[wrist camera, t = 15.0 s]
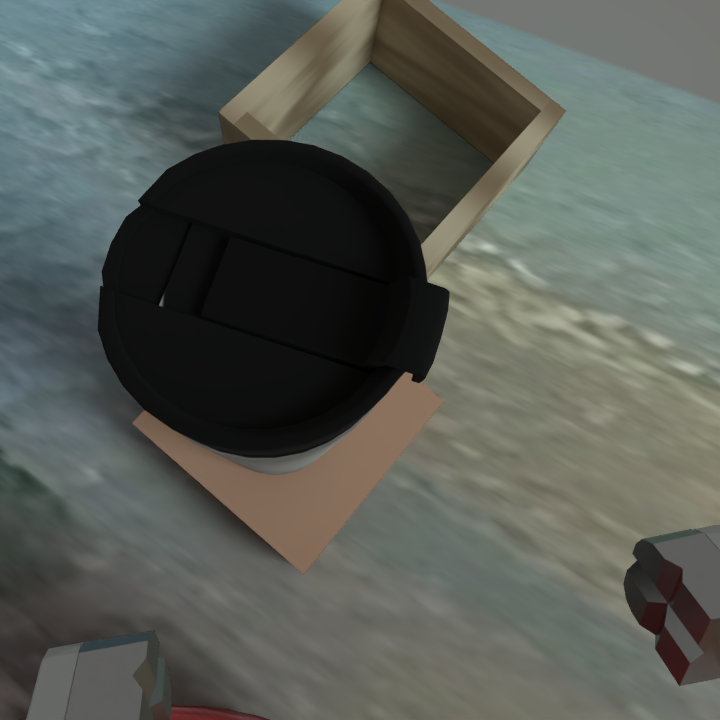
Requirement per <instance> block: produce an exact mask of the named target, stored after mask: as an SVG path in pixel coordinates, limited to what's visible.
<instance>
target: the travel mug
mask: <svg viewBox="0 0 720 720" xmlns="http://www.w3.org/2000/svg"><path fill="white" fill-rule="evenodd" d="M138 201H139V203H140V206H139V207H138V208H137V209H135V210H134V211H133V212H132V213H130V214H129V215H128V216H126V218H125V219H124V221H123V223H122V225H121V227H120V228H119V230H118V232H117V234H116V235H115V237H114V239H113V241H112V242H111V245H110V248H109V251H108V254H107V257H106V260H105V263H104V266H103V269H102V279H103V287H102V286H100V300H99V318H98V332H99V335H100V338H101V341H102V344H103V347H104V350H105V353H106V356H107V359H108V361H109V363H110V364H111V366H112V368H113V370H114V371H115V373H116V375H117V376H118V378H119V380H120V382H121V383H122V385H123V387H124V388H125V389H126V390H127V391H128V392H129V393H130V394H131V395H132V397H133V398H134V399H135V400H136V401H137V402H138V403H139V404H140V405H141V406H142V407H143V408H144V410H145V411H147V412H148V413H150V414H151V415H152V416H154V417H155V418H157V419H158V420H159V421H161V422H162V423H164V424H165V425H167V426H168V427H169V428H171V429H172V430H174V431H176V432H178V433H179V434H181V435H182V436H184V437H185V438H187V439H188V440H189V441H191V442H192V443H194V444H196V445H198V446H200V447H203V448H205V449H207V450H209V451H211V452H213V453H215V454H218V455H220V456H222V457H224V458H226V459H228V460H230V461H232V462H235V463H237V464H239V465H241V466H243V467H245V468H248V469H250V470H252V471H255V472H258V473H263V474H268V475H282V474H287V473H292V472H295V471H298V470H300V469H303V468H305V467H307V466H308V465H310V464H311V463H313V462H315V461H316V460H317V459H318V458H320V457H321V456H322V455H323V454H324V453H325V452H327V451H328V450H329V449H330V448H331V447H333V446H334V445H335V444H336V443H337V442H338V441H340V440H341V439H342V438H343V437H344V436H346V435H347V434H348V433H349V432H350V431H351V430H353V429H354V428H355V427H356V426H357V425H358V424H359V423H360V422H361V421H362V420H363V419H364V418H365V417H366V416H367V415H368V414H369V413H370V412H371V411H372V409H373V408H374V406H375V405H376V404H377V403H378V402H379V401H380V400H381V399H382V398H383V397H384V396H385V395H386V394H387V393H388V392H389V390H390V389H391V388H392V387H393V386H394V384H395V383H396V382H397V381H398V379H399V378H400V377H401V376H402V375H403V374H404V373H405V372H408V373H411V374H413V376H412V379H411V381H413V382H416V383H420V382H422V381H423V380H424V379H425V377H426V375H427V374H428V372H429V370H430V368H431V366H432V364H433V361H434V358H435V355H436V352H437V349H438V346H439V343H440V339H441V336H442V332H443V328H444V324H445V320H446V316H447V312H448V305H449V293H450V292H449V291H448V290H447V289H445V288H443V287H440V286H437V285H434V284H431V283H428V282H427V273H426V265H425V261H424V256H423V252H422V248H421V244H420V241H419V239H418V237H417V235H416V232H415V230H414V228H413V226H412V224H411V222H410V220H409V218H408V215H407V214H406V213H405V211H404V210H403V209H402V207H401V206H400V205H399V203H398V202H397V201H396V199H395V198H394V197H393V195H392V194H391V193H390V191H388V190H387V189H386V188H385V187H384V186H383V185H382V184H381V183H380V182H379V181H377V180H376V179H375V178H374V177H373V176H372V175H371V174H370V173H369V172H367V171H366V170H364V169H362V168H361V167H359V166H357V165H356V164H354V163H353V162H351V161H349V160H348V159H346V158H344V157H343V156H340V155H338V154H335V153H332V152H330V151H327V150H324V149H322V148H319V147H317V146H314V145H309V144H303V143H298V142H293V141H287V140H248V141H242V142H235V143H229V144H223V145H220V146H217V147H214V148H211V149H209V150H206V151H203V152H200V153H197V154H194V155H192V156H190V157H189V158H187V159H185V160H183V161H181V162H180V163H178V164H176V165H174V166H172V167H171V168H169V169H167V170H166V171H165V172H164V173H163V174H162V175H161V176H160V177H159V179H158V180H157V181H156V182H155V183H154V184H153V185H152V186H151V187H150V188H149V189H148V190H147V191H146V192H145V193H144V194H143V196H142V197H141V198H140V199H139V200H138Z"/></svg>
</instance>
